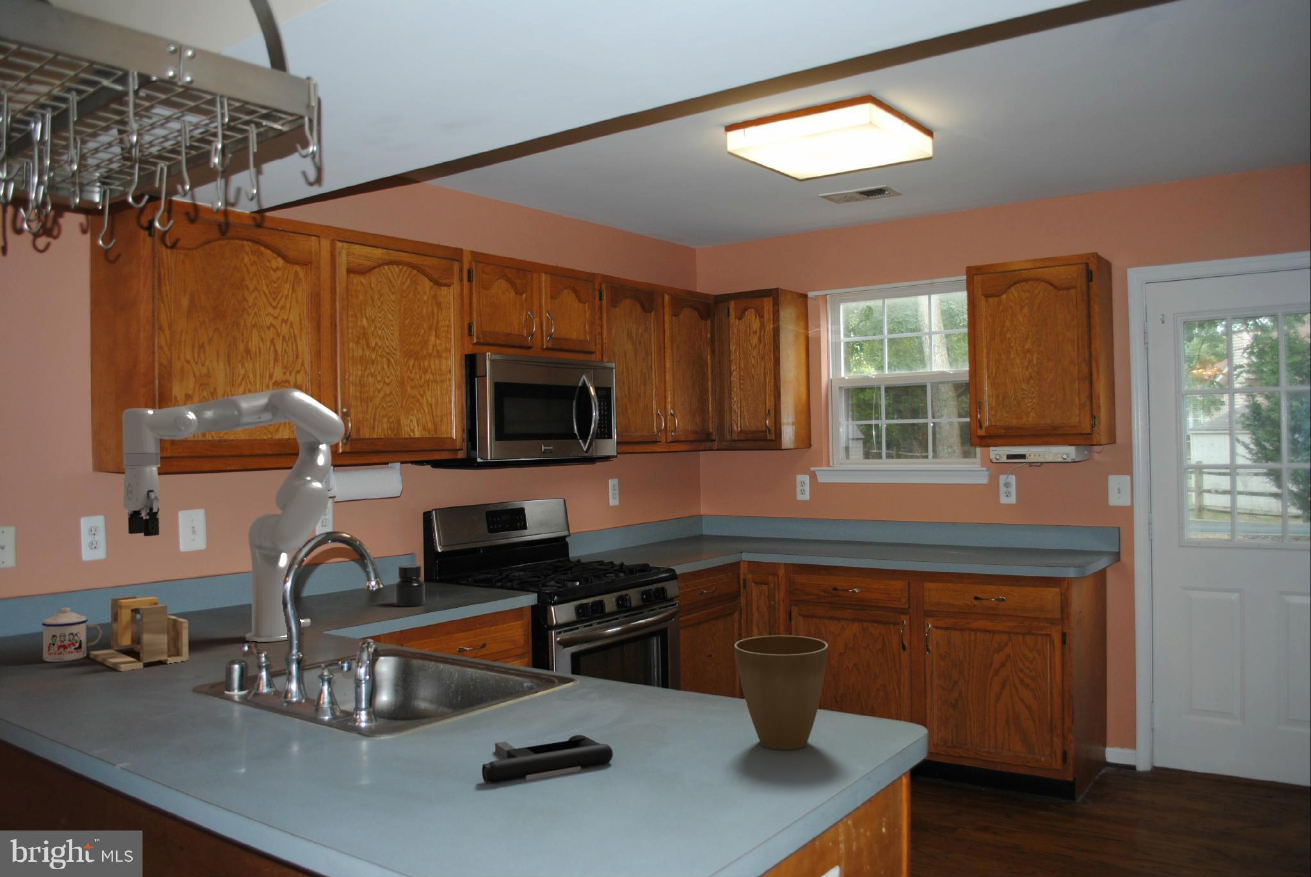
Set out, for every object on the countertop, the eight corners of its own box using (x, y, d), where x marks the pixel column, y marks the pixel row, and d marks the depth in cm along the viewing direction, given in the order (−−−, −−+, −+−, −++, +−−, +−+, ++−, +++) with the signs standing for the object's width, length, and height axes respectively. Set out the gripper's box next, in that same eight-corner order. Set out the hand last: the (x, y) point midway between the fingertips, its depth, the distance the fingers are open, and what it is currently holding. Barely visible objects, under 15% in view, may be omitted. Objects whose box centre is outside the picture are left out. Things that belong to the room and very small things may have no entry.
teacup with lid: (42, 664, 217) (42, 612, 217) (41, 657, 224) (41, 607, 224) (103, 657, 223) (103, 607, 223) (100, 651, 231) (100, 602, 231)
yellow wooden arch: (153, 638, 225) (153, 596, 225) (158, 640, 223) (157, 598, 223) (118, 643, 220) (117, 600, 220) (122, 645, 218) (122, 601, 218)
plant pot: (777, 724, 164) (776, 631, 164) (848, 744, 153) (847, 643, 153) (716, 742, 154) (715, 643, 154) (786, 765, 143) (785, 658, 143)
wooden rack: (89, 657, 224) (89, 600, 224) (153, 647, 234) (153, 593, 234) (121, 671, 209) (121, 610, 209) (188, 660, 219) (188, 603, 219)
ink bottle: (427, 602, 301) (426, 564, 301) (425, 606, 292) (424, 567, 292) (395, 603, 299) (394, 564, 299) (392, 607, 291) (392, 568, 291)
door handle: (458, 743, 148) (489, 767, 134) (578, 725, 157) (618, 746, 143) (458, 765, 148) (489, 791, 134) (578, 746, 157) (619, 768, 143)
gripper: (111, 461, 226) (113, 534, 226) (137, 461, 214) (139, 538, 215) (145, 460, 232) (147, 531, 232) (173, 460, 220) (174, 535, 220)
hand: (143, 534), depth 223 cm, fingers open, 9 cm apart
